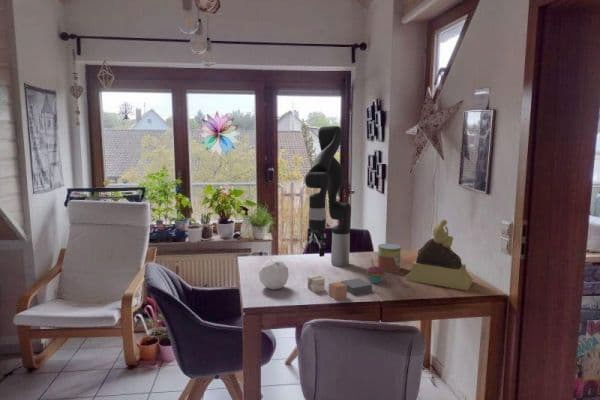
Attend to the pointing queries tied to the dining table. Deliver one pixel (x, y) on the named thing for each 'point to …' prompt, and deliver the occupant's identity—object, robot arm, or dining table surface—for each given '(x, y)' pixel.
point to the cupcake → (375, 273)
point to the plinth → (357, 286)
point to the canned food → (389, 257)
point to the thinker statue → (440, 263)
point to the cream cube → (316, 283)
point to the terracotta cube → (337, 290)
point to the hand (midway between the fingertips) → (317, 253)
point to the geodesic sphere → (273, 274)
